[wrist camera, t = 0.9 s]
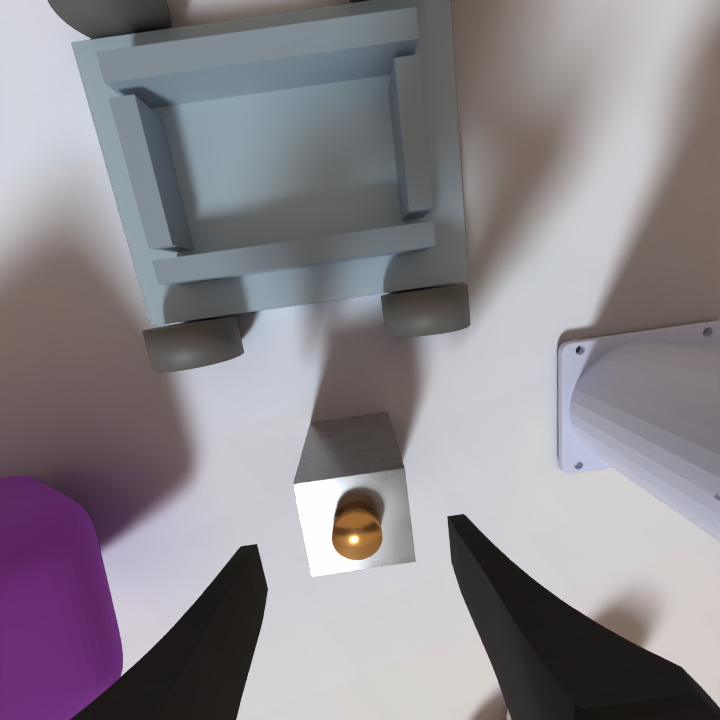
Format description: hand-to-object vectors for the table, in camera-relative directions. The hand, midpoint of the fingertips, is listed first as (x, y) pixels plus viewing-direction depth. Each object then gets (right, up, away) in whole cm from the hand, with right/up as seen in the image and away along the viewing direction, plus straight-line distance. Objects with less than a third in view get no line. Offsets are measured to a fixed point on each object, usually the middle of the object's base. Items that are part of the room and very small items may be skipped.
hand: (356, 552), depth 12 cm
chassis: (-3, +16, +4) cm, 17 cm away
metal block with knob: (0, +2, +7) cm, 8 cm away
